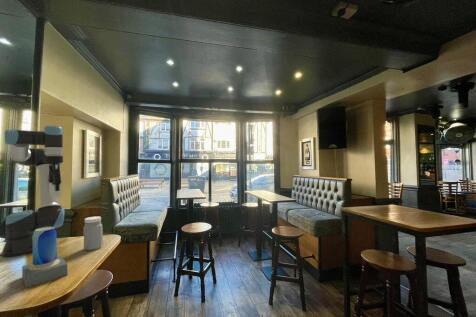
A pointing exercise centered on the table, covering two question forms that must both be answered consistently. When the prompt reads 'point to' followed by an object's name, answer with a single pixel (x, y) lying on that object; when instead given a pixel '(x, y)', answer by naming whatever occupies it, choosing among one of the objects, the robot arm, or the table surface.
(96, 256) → the table surface
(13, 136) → the robot arm
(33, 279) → the riser
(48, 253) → the beer can
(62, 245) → the table surface
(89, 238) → the jar
